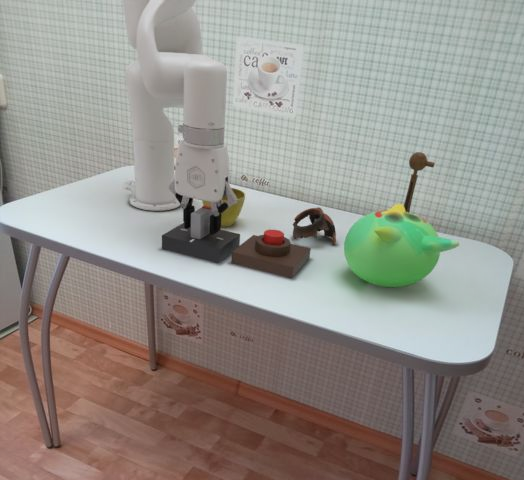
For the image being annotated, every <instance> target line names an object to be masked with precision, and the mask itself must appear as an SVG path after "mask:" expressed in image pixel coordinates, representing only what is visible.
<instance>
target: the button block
mask: <svg viewBox="0 0 524 480" xmlns="http://www.w3.org/2000/svg"><path fill="white" fill-rule="evenodd" d="M263 238H264V234H260V235H257V234H252V235H251V236H250V237H249V238H247V239H246V240H244V241H243V242H242V243H240V245H239V247H237V248H236V249H235V250H234V251H232V253H231V258H230V259H231V260H230V261H231V263H230V264H233V265H237V266H240V267H245V268H249V269H253V270H257V271H261V272H264V273H268V274H271V275H276V276H280V277H283V278H287V279H293V278H294V277H295V276H296V275H297V274H298V273H299V271H301V269H302V268H303V267H304V266H305V264H306V263H308V261H309V260H310V256H311V249H312V248H311V247H307V246H304V245H298V244H296V243H295V244H294V243H292V242H291V240H290V239H289V238H287V237H285V236H284V239H283V244H281V245H270V244H266V243H264V242H263Z"/></svg>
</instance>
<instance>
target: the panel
mask: <svg viewBox="0 0 524 480" xmlns="http://www.w3.org/2000/svg"><path fill="white" fill-rule="evenodd" d="M240 245H241V233H238V232H233V231H229V230H224V229H221V228H220V230H219V231H218V232H217V233H215V234H214V235H211V234H210V233H209V234H208V235H206V236H205V237H203V238H202V239H196V238H192V237H191V227H190V228H188V229H186V228H184V222H182V223H181V224H178V225H176V226H175V227H174V228H171V229H170V230H168V231H167V232H164V233H163V234H162V235H161V249H162V250H164V251H167V252H173V253H175V254H180V255H183V256H187V257H192V258H195V259H198V260H204V261H206V262H211V263H214V264H221V263H222V262H223V261H224V260H225V259H227V258H228V257H229V256H230V255H232V251H234V250H235V249H236V248H237V247H239V246H240Z"/></svg>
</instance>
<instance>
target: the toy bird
mask: <svg viewBox="0 0 524 480" xmlns="http://www.w3.org/2000/svg"><path fill="white" fill-rule="evenodd" d="M459 246H460V243H459V241H457V240H455V239H451V238H446V237H445V238H444V237H439V235H438V233H437V231H436V230H435V228H434V227H433V226H432V224H431V223H429V222H428V221H427V220H426V219H424V218H423V217H421V216H419V215H417V214H415V213H412V212H410V211H409V212H406V211H405V208H404V203H396V204H394V205H393V206H391V207H390V208H389V209H383V210H377V211H373V212H371V213H368V214H366V215H364V216H362V217H360V218H359V219H358V220H356V221H355V222H354V223H353V225H352V226H351V227H350V228H349V230H348V231H347V234H346V236H345V239H344V243H343V252H344V258H345V261H346V263H347V265H348V267H349V268H350V270H351V271H352V272H353V273H354V274H355V275H356V276H357V277H359V278H360V279H361V280H362V281H365V282H367V283H370V284H372V285H374V286H375V285H376V286H380V287H387V288H399V287H405V286H406V287H407V286H410V285H413V284H415V283H418V282H420V281H421V280H423V279H424V278H426V277H427V276H428V275H430V273H432V271H433V270H434V269H435V267H436V266H437V264H438V262H439V259H440V255H441V253H444V252H447V251H450V250H454V249H456V248H457V247H459Z"/></svg>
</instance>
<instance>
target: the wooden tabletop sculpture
mask: <svg viewBox="0 0 524 480" xmlns="http://www.w3.org/2000/svg"><path fill="white" fill-rule="evenodd" d="M408 166H409V167H410V169H411V170H413V173H411V174H410V178H409V179H410V180H409V184H408V188H407V191H406V196H405V199H404V203H403V206H404V208H405V211H406V212H409V213H410V210H411V206H412V202H413V196H414V192H415V188H416V185H417V181H418V177H419V175H418V171H422V170H424V169H425V168H426V167H428V168H434V166H435V162H434V161H429V160H428V157H427V156H426V154H425V153H423V152H421V151H416V152H414V153H412V155H411V156H410V157H409V160H408Z"/></svg>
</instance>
